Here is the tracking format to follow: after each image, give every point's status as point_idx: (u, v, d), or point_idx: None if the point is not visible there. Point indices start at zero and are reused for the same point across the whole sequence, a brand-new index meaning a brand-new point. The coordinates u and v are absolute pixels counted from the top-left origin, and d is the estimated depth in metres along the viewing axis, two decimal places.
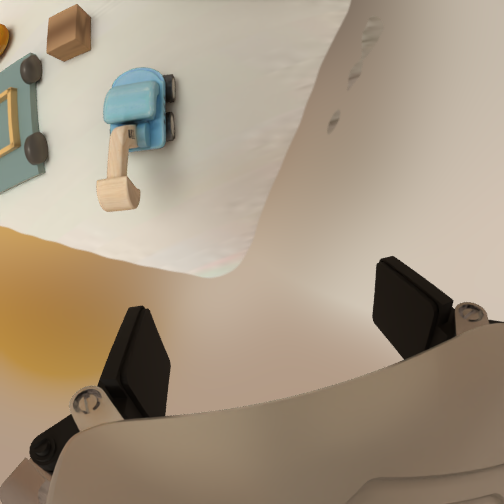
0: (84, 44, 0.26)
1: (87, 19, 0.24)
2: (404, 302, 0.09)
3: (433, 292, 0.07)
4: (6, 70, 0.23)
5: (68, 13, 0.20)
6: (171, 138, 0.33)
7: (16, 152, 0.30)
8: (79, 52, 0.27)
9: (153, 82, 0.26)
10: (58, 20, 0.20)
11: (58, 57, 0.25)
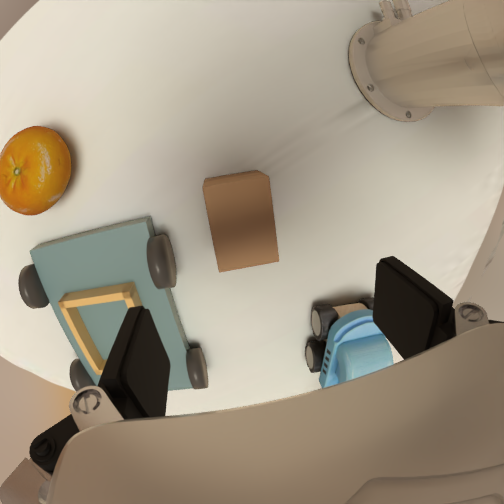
0: None
1: None
2: (404, 302, 0.09)
3: (433, 292, 0.07)
4: (94, 239, 0.24)
5: (253, 195, 0.21)
6: None
7: None
8: None
9: (389, 347, 0.26)
10: (231, 205, 0.21)
11: None
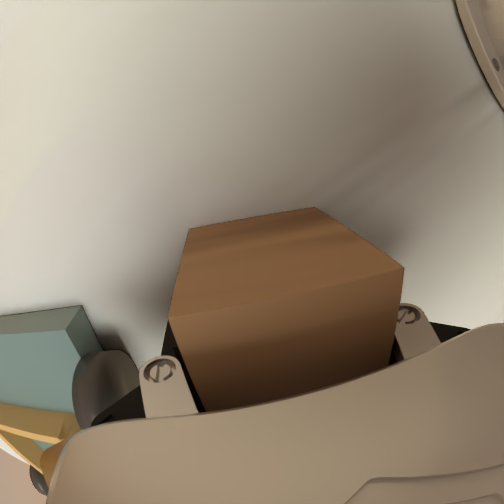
0: None
1: None
2: None
3: None
4: None
5: (348, 331, 0.06)
6: None
7: None
8: None
9: None
10: (274, 364, 0.06)
11: None
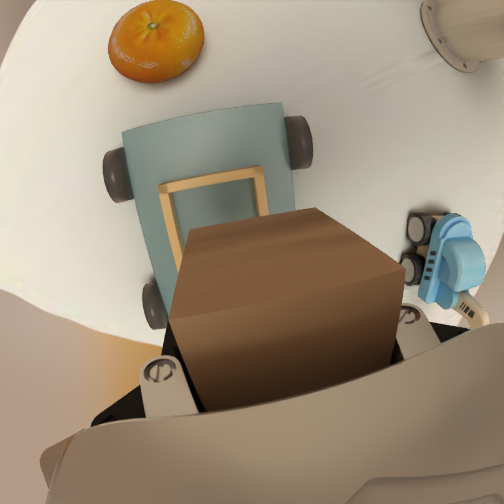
0: None
1: None
2: None
3: None
4: (219, 115, 0.23)
5: (350, 332, 0.06)
6: None
7: None
8: None
9: None
10: (275, 366, 0.06)
11: None
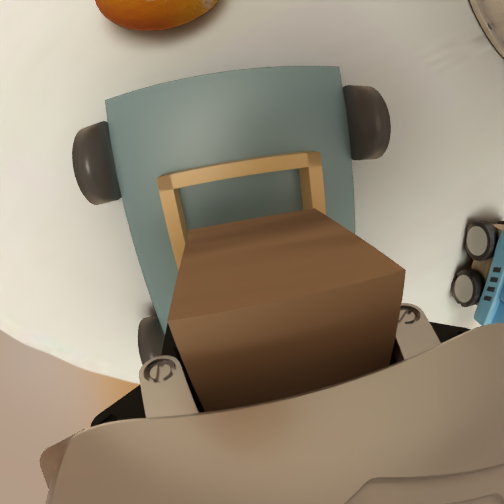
0: None
1: None
2: None
3: None
4: (252, 76, 0.14)
5: (349, 333, 0.06)
6: None
7: None
8: None
9: None
10: (274, 367, 0.06)
11: None
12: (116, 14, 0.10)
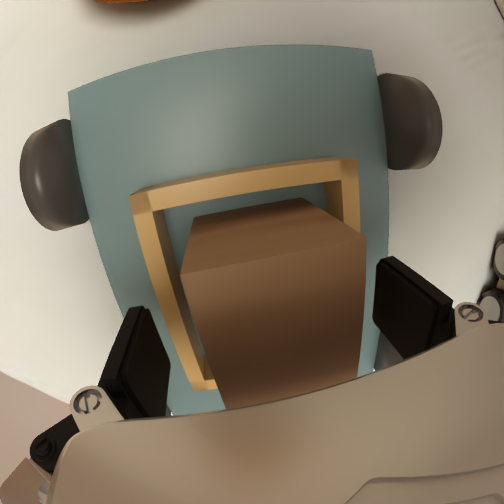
0: None
1: None
2: (404, 302, 0.09)
3: (433, 292, 0.07)
4: (262, 55, 0.10)
5: (323, 289, 0.08)
6: None
7: None
8: None
9: None
10: (263, 316, 0.08)
11: None
12: None
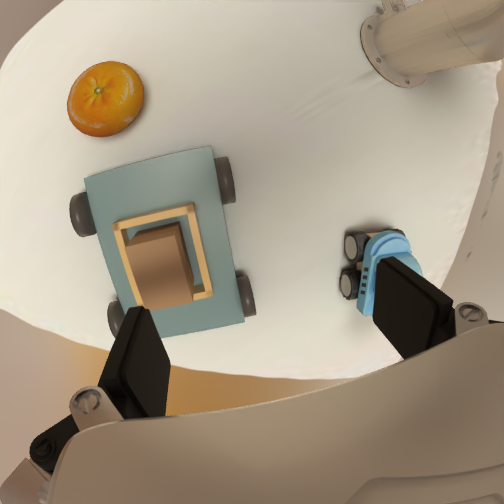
0: (193, 286, 0.30)
1: (181, 235, 0.29)
2: (404, 302, 0.09)
3: (433, 292, 0.07)
4: (159, 161, 0.28)
5: (163, 251, 0.25)
6: None
7: None
8: None
9: None
10: (147, 260, 0.25)
11: None
12: (82, 131, 0.23)
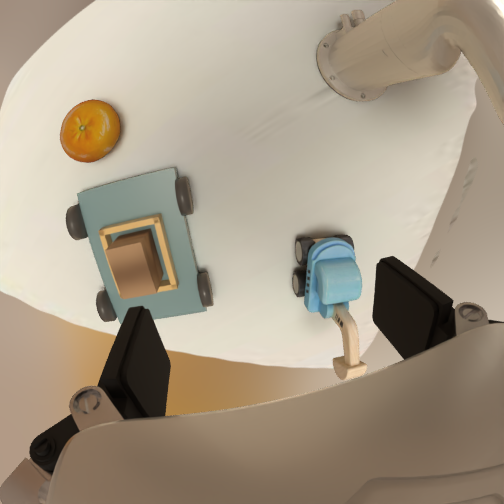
0: (160, 280, 0.37)
1: (150, 240, 0.36)
2: (404, 302, 0.09)
3: (433, 292, 0.07)
4: (133, 181, 0.34)
5: (133, 254, 0.32)
6: None
7: None
8: None
9: (357, 266, 0.36)
10: (122, 260, 0.32)
11: None
12: (73, 158, 0.29)
